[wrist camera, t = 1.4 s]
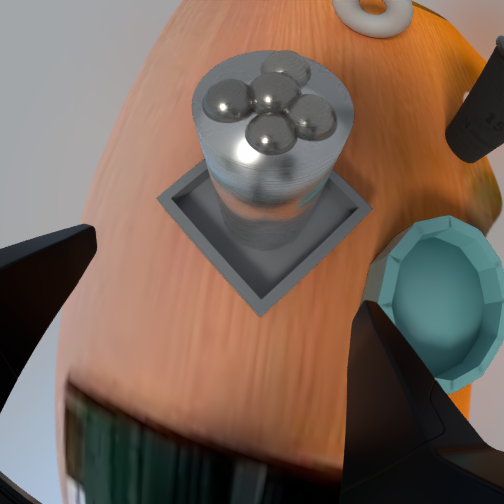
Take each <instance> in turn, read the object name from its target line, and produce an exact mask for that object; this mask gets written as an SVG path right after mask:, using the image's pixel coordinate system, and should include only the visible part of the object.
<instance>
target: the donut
mask: <svg viewBox="0 0 504 504" xmlns="http://www.w3.org/2000/svg"><path fill="white" fill-rule="evenodd" d="M359 1H360V0H332V4H333V7H334V9H335V12H336V14H337V16H338V17H339V18H340V19H341V20H342V22H343V23H344V24H346V25H347V26H348V27H350V28H351V29H352V30H354V31H356V32H358V33H360V34H362V35H365V36H369V37H374V38H388V37H392V36H396V35H398V34H400V33H401V32H403V31H404V30H406V28H407V27H408V26H409V24H410V23H411V20H412V16H413V7H412V2H411V0H382V1H383V2H384V3H385V4H386V11H385V12H384V13H382V14H380V15H372V14H369V13H367V12H365V11H364V10H362V8H361V7H360V5H359Z"/></svg>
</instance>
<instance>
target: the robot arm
mask: <svg viewBox="0 0 504 504" xmlns="http://www.w3.org/2000/svg"><path fill="white" fill-rule="evenodd" d="M96 251H97V240H96V231H95V228H94V227H93V226H91V225H88V224H81V225H77V226H74V227H70V228H67V229H63V230H60V231H56V232H53V233H50V234H46V235H43V236H39V237H36V238H33V239H30V240H26V241H23V242H20V243H17V244H14V245H11V246H8V247H5V248H2V249H0V413H1V411H2V409H3V407H4V405H5V403H6V401H7V399H8V397H9V395H10V393H11V391H12V389H13V387H14V385H15V383H16V381H17V379H18V377H19V376H20V374H21V372H22V370H23V368H24V367H25V365H26V363H27V361H28V360H29V358H30V356H31V355H32V353H33V351H34V349H35V347H36V346H37V344H38V343H39V341H40V340H41V338H42V336H43V335H44V333H45V331H46V330H47V328H48V327H49V325H50V324H51V322H52V321H53V319H54V318H55V316H56V315H57V313H58V312H59V310H60V309H61V307H62V306H63V304H64V303H65V301H66V300H67V298H68V297H69V296H70V294H71V293H72V291H73V290H74V288H75V287H76V285H77V284H78V282H79V280H80V279H81V277H82V275H83V274H84V272H85V270H86V269H87V267H88V265H89V264H90V262H91V260H92V259H93V257H94V255H95V254H96ZM0 504H42V503H40V502H39V501H38V500H36V499H35V498H33V497H32V496H30V495H29V494H28V493H27V492H25V491H24V490H23V489H21V488H20V487H19V486H17V485H16V484H15V483H14V482H12V481H11V480H10V479H9V478H8V477H6V476H5V475H4V474H3V473H2V472H1V471H0ZM339 504H504V452H502V451H499V450H496V449H494V448H492V447H491V446H489V445H488V444H487V443H485V442H484V441H483V439H482V438H481V437H480V436H479V434H478V433H477V432H476V431H475V429H474V428H473V427H472V426H471V424H470V423H469V422H468V421H467V419H466V418H465V417H464V416H463V414H462V413H461V412H460V411H459V409H458V408H457V407H456V406H455V404H454V403H453V402H452V401H451V399H450V398H449V396H448V395H447V394H446V392H445V391H444V390H443V388H442V387H441V385H440V384H439V383H438V381H437V380H435V377H434V376H433V374H432V373H431V372H430V370H429V369H428V368H427V366H426V365H425V364H424V362H423V361H422V359H421V358H420V357H419V355H418V354H417V353H416V351H415V350H414V349H413V348H412V346H411V345H410V344H409V342H408V341H407V340H406V338H405V337H404V336H403V334H402V333H401V332H400V331H399V329H398V328H397V327H396V326H395V324H394V323H393V322H392V320H391V319H390V318H389V317H388V315H387V314H386V313H385V312H384V310H383V309H382V308H381V307H380V305H379V304H378V303H377V302H374V301H370V300H364V301H363V302H362V304H361V306H360V308H359V310H358V311H357V313H356V315H355V317H354V319H353V322H352V328H351V339H350V348H349V357H348V367H347V412H346V433H345V449H344V462H343V474H342V484H341V493H340V500H339Z"/></svg>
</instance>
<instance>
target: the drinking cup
mask: <svg viewBox="0 0 504 504" xmlns="http://www.w3.org/2000/svg"><path fill="white" fill-rule="evenodd" d="M496 45H497V46H496V47H495V49H494V51H493V53H492V55H491V57H490V58H489V60H488V62H487V64H486V66H485V67H484V69H483V71H482V73H481V74H480V76H479V78H478V79H477V81H476V83H475V85H474V86H473V88H472V90H471V91H470V93H469V94H468V96H467V98H466V99H465V101H464V103H463V104H462V106H461V107H460V109H459V110H458V112H457V114H456V115H455V117H454V118H453V120H452V121H451V123H450V124H449V126H448V127H447V129H446V133H445V135H446V140H447V143H448V145H449V147H450V148H451V150H452V151H453V152H454V154H455V155H456V156H457V157H459V158H460V159H461V160H463V161H465V162H467V163H474V162H476V161H478V160H479V159H481V158H482V157H484V156H485V155H487V154H488V153H490V152H491V151H493V150H494V149H496V148H497V147H499V146H500V145H502V144H503V143H504V36H498V38H497V39H496Z"/></svg>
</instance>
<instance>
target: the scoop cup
mask: <svg viewBox="0 0 504 504" xmlns="http://www.w3.org/2000/svg"><path fill="white" fill-rule="evenodd" d="M192 115H193V119H194V123H195V126H196V130H197V133H198V137H199V140H200V144H201V147H202V151H203V154H204V157H205V161H206V164H207V168H208V171H209V175H210V178H211V181H212V185H213V188H214V191H215V195H216V198H217V202H218V205H219V208H220V212H221V215H222V218H223V222H224V224H225V226H226V228H227V230H228V232H229V233H230V234H231V235H232V237H233V238H234V239H236V240H237V241H238V242H239V243H241V244H243V245H245V246H247V247H249V248H252V249H256V250H275V249H279V248H282V247H284V246H286V245H288V244H289V243H291V242H292V241H294V240H295V239H296V238H297V237H298V236H299V234H300V233H301V232H302V230H303V228H304V226H305V224H306V222H307V220H308V218H309V216H310V214H311V212H312V210H313V208H314V206H315V204H316V202H317V200H318V198H319V196H320V194H321V192H322V190H323V188H324V186H325V184H326V182H327V180H328V178H329V176H330V174H331V172H332V170H333V168H334V166H335V164H336V161H337V159H338V157H339V155H340V153H341V151H342V149H343V147H344V145H345V143H346V140H347V138H348V136H349V134H350V132H351V130H352V126H353V123H354V106H353V102H352V99H351V97H350V94H349V92H348V90H347V89H346V87H345V86H344V84H343V83H342V82H341V81H340V80H339V78H338V77H337V76H335V75H334V74H333V73H332V72H331V71H330V70H328V69H327V68H326V67H324V66H322V65H321V64H319V63H317V62H315V61H313V60H311V59H309V58H306V57H303V56H301V55H300V54H298V53H296V52H293V51H288V50H282V51H255V52H249V53H245V54H241V55H237V56H235V57H232V58H229V59H227V60H225V61H223V62H221V63H220V64H218V65H217V66H215V67H214V68H213V69H211V70H210V71H209V72H208V73H207V74H206V75H205V76H204V77H203V78H202V80H201V81H200V82H199V84H198V86H197V88H196V90H195V92H194V95H193V99H192Z"/></svg>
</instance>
